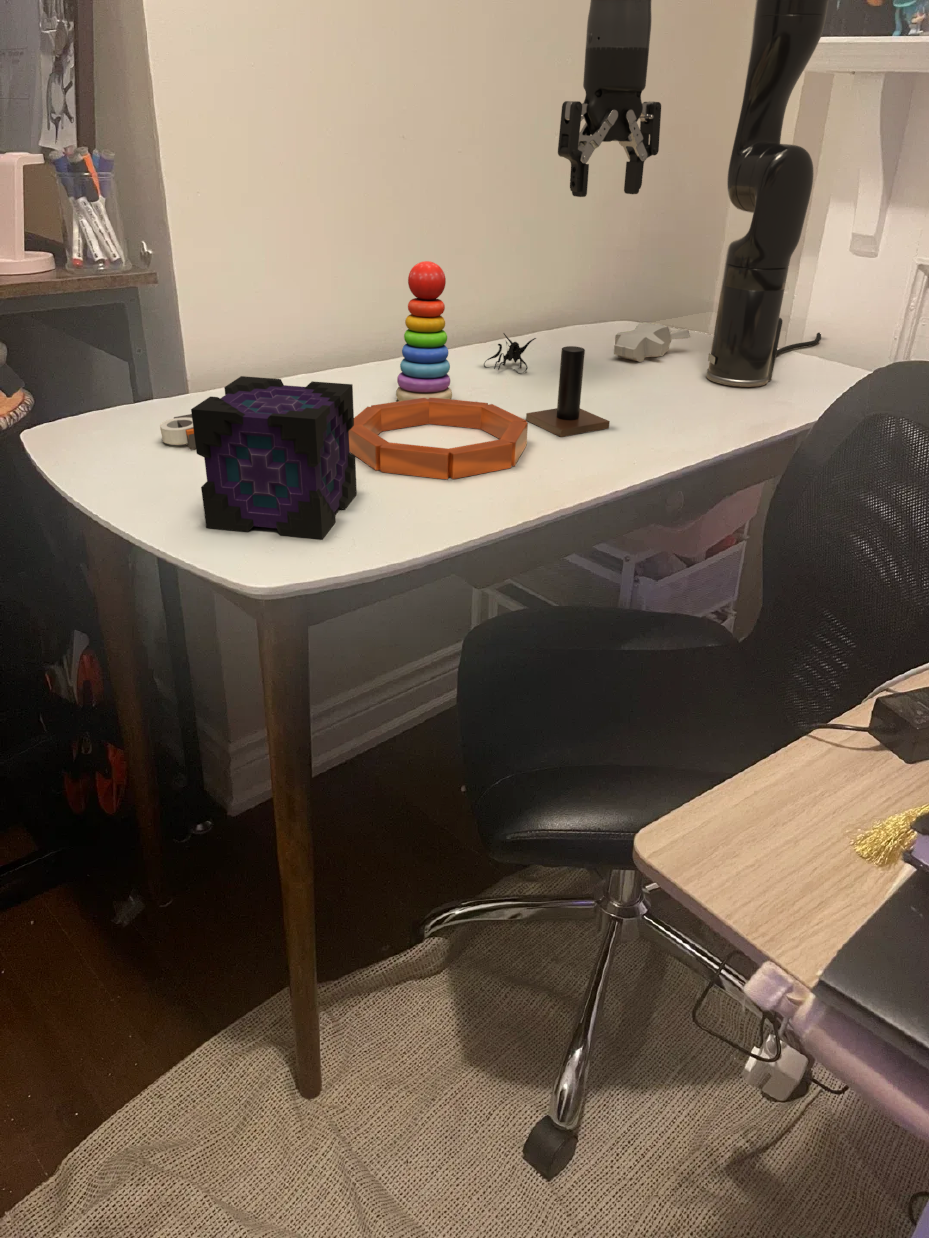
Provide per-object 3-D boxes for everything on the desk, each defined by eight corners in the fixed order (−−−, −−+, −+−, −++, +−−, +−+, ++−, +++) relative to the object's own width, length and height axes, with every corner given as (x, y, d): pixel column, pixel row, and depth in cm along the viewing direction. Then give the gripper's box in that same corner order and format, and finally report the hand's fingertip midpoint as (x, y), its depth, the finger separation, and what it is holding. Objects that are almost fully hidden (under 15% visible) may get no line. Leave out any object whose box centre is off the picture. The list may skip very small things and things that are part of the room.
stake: (572, 412, 126) (579, 339, 121) (609, 428, 120) (617, 352, 115) (525, 420, 122) (530, 345, 117) (560, 437, 116) (567, 359, 112)
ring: (466, 413, 125) (466, 391, 123) (555, 459, 109) (557, 435, 108) (325, 435, 115) (324, 412, 113) (402, 489, 100) (402, 463, 98)
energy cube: (322, 539, 88) (315, 419, 82) (206, 528, 89) (190, 409, 83) (356, 494, 98) (352, 384, 92) (251, 484, 100) (241, 376, 94)
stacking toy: (445, 411, 125) (447, 268, 116) (389, 406, 126) (387, 264, 117) (457, 396, 132) (460, 259, 122) (404, 391, 133) (403, 256, 124)
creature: (518, 383, 142) (542, 362, 147) (516, 351, 139) (541, 331, 144) (476, 375, 146) (501, 355, 151) (473, 344, 142) (498, 324, 147)
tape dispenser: (153, 417, 112) (269, 397, 118) (158, 440, 113) (272, 418, 119) (167, 433, 107) (287, 411, 113) (172, 457, 108) (290, 433, 114)
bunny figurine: (600, 333, 152) (651, 310, 161) (600, 362, 155) (650, 339, 164) (648, 342, 146) (698, 319, 155) (646, 373, 149) (695, 349, 158)
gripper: (589, 42, 101) (579, 200, 109) (683, 46, 108) (667, 195, 116) (550, 44, 107) (543, 195, 115) (642, 48, 113) (629, 190, 121)
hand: (605, 195), depth 115 cm, fingers open, 8 cm apart
